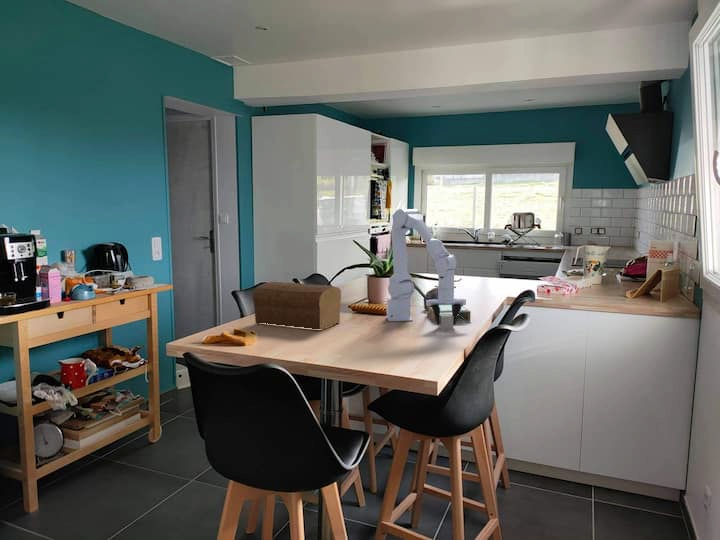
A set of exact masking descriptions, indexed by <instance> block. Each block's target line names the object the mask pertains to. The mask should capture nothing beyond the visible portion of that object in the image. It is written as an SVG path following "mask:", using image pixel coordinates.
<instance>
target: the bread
mask: <svg viewBox="0 0 720 540" xmlns="http://www.w3.org/2000/svg"><path fill="white" fill-rule="evenodd" d="M341 300H342V291H341V289H340V287H337V286H333V285H326V284H324V285H323V284H322V285H321V284H310V283H301V282H300V283H299V282H298V283H297V282H282V281H280V282H279V281H270V282H266V283H263V284H260V285H258V286H256V287H255V289H254V290H253V291H252V301H253V307H254V316H255V317H254V318H255V324H256V323H266V324H267V323H268V324H276V325H285V326H294V327H304V328H312V329H324V328H326V327H329V326H331V325H334V324H336V323H338V324H340V323H339V322H341ZM336 325H337V324H336ZM334 326H335V325H334ZM331 327H332V326H331ZM329 328H330V327H329ZM324 330H325V329H324Z"/></svg>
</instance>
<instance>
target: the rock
mask: <svg viewBox="0 0 720 540" xmlns="http://www.w3.org/2000/svg"><path fill="white" fill-rule="evenodd" d="M425 297H426V298H427V299H428V300H432V299H438V287H433V288H431V289H429V290H428V291H427V292H426V293H425V295H424V298H423V309H424V310H427V305H426V300H427V299H426V298H425Z"/></svg>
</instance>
